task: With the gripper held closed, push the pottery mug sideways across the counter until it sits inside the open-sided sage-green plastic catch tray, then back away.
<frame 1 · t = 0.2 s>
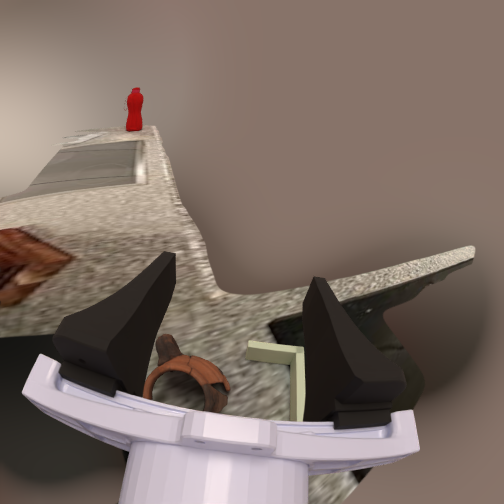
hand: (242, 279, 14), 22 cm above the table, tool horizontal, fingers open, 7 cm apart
catch tray: (269, 406, 29), on the table
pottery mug: (186, 394, 29), on the table
water bottle: (132, 130, 133), on the table
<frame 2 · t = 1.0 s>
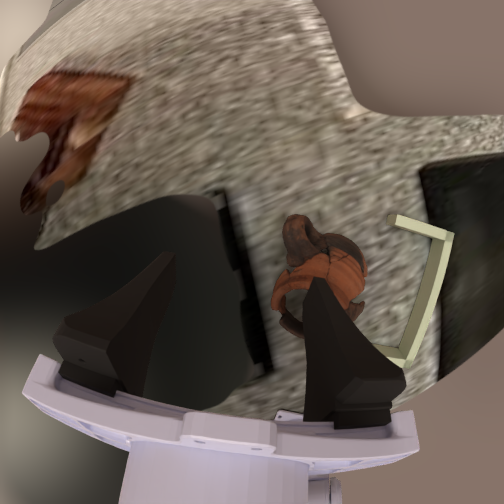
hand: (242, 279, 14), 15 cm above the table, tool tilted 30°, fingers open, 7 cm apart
catch tray: (398, 291, 27), on the table
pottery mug: (316, 269, 28), on the table
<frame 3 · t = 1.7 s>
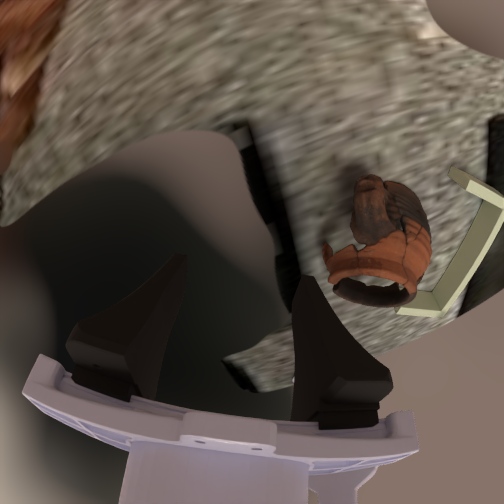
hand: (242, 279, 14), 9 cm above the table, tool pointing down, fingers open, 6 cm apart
catch tray: (444, 243, 23), on the table
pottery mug: (369, 218, 22), on the table
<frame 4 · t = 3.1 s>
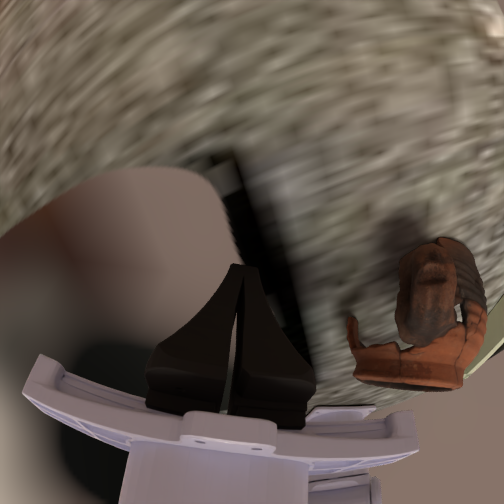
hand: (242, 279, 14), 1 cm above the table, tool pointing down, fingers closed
catch tray: (483, 301, 16), on the table
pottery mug: (409, 282, 16), on the table
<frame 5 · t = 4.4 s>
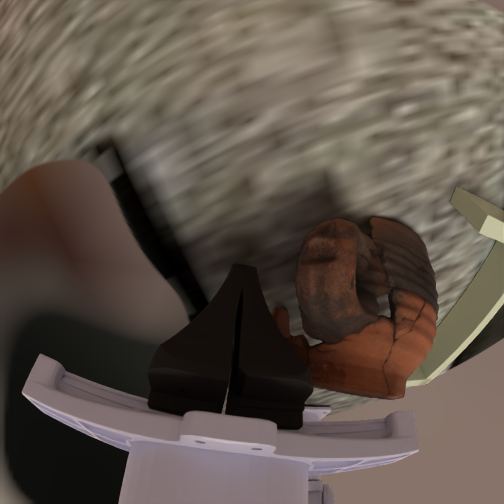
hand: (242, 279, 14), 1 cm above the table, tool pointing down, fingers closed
catch tray: (438, 296, 16), on the table
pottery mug: (344, 271, 15), on the table, touching gripper
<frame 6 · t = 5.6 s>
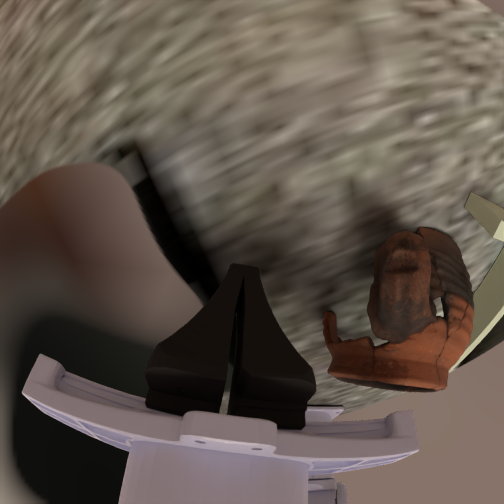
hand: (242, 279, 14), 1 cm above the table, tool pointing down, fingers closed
catch tray: (450, 296, 16), on the table
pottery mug: (390, 276, 15), on the table
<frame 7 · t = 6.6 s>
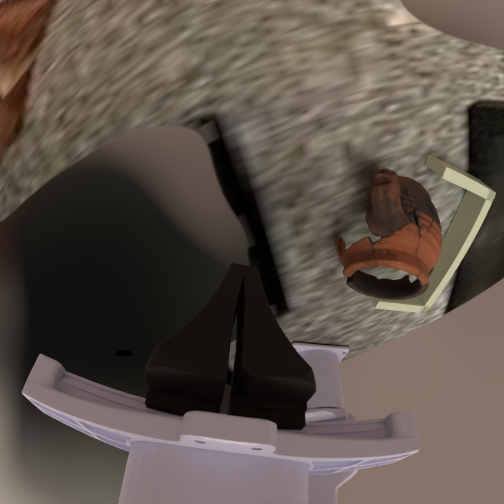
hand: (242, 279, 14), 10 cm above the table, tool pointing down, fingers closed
catch tray: (425, 235, 23), on the table
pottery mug: (380, 213, 22), on the table
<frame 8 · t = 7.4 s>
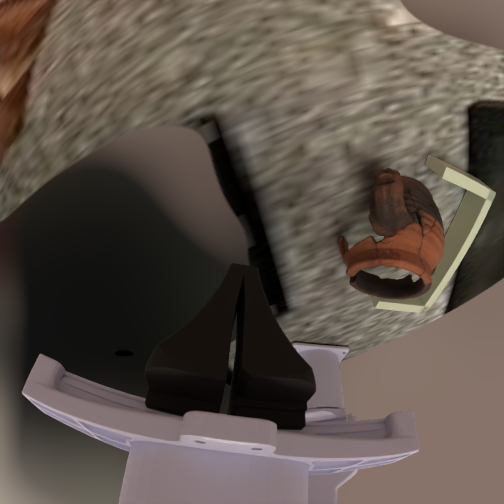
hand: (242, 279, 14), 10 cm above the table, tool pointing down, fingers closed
catch tray: (425, 235, 23), on the table
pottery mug: (383, 212, 22), on the table
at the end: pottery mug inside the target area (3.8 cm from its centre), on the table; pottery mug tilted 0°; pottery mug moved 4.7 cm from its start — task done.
